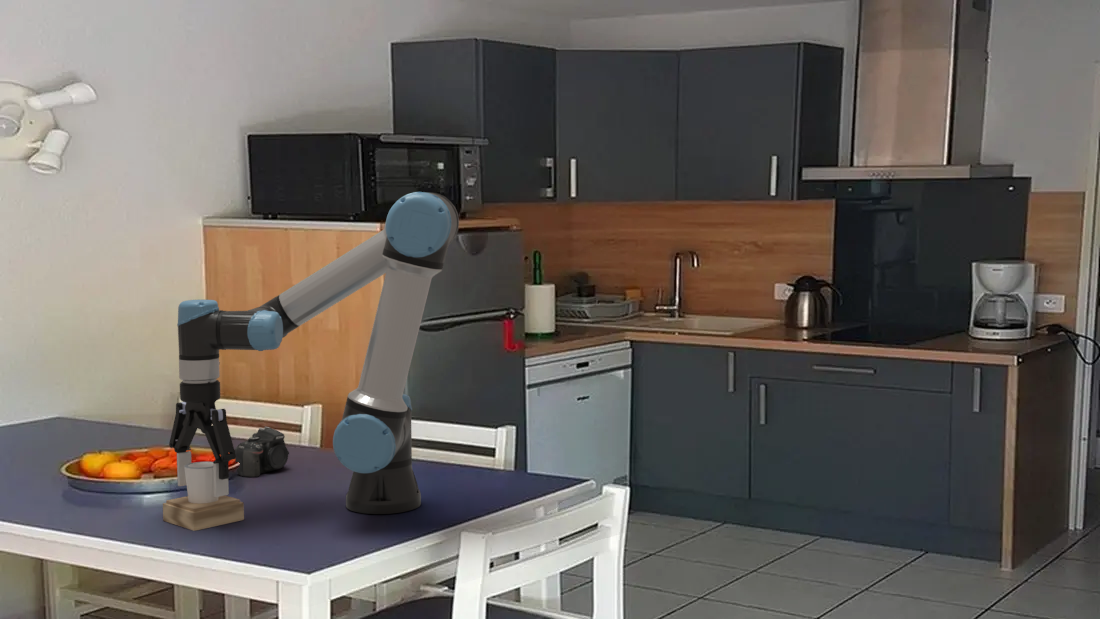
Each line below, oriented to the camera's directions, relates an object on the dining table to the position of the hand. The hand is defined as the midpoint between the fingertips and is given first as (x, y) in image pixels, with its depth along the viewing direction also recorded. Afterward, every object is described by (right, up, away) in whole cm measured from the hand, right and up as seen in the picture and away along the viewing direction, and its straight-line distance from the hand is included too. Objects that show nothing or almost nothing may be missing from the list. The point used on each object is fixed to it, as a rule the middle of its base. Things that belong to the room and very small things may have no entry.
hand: (202, 490), depth 246 cm
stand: (0, -6, +1) cm, 6 cm away
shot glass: (0, -2, 0) cm, 2 cm away
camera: (+2, -2, +43) cm, 44 cm away
